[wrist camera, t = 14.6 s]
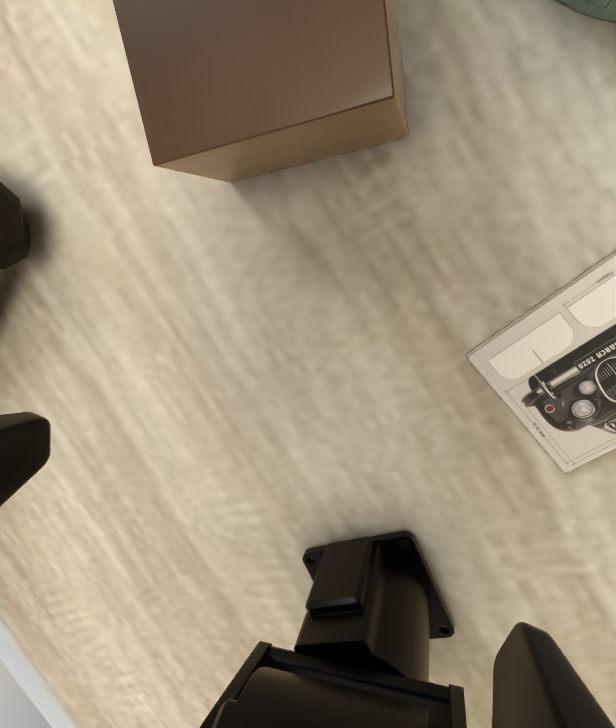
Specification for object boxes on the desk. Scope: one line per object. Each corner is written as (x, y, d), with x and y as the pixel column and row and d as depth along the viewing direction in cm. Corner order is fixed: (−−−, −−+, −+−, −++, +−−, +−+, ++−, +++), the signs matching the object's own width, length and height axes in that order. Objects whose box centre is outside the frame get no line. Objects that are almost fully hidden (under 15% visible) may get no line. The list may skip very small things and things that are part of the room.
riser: (408, 137, 16) (395, 97, 11) (228, 182, 19) (152, 166, 14) (383, -118, 14) (353, -306, 9) (185, -28, 17) (78, -136, 12)
